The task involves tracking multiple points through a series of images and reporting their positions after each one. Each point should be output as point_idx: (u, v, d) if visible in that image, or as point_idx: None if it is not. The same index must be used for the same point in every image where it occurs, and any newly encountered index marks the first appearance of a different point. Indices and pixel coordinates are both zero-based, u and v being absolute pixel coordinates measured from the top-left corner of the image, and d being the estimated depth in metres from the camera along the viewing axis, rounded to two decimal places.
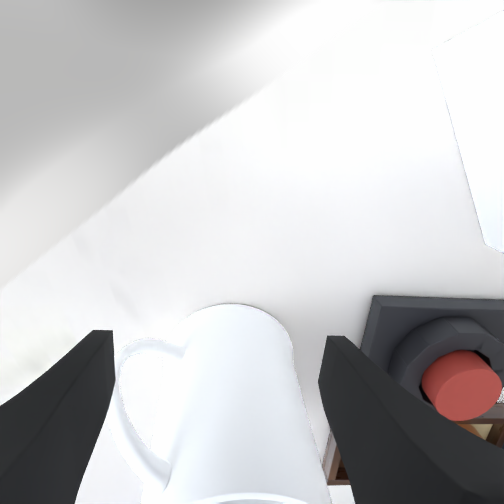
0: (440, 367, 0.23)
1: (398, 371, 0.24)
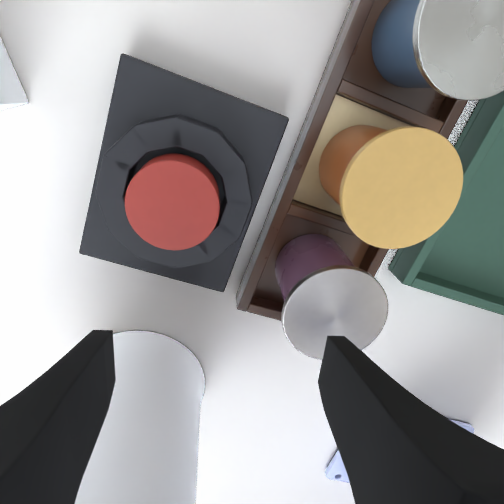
0: None
1: None
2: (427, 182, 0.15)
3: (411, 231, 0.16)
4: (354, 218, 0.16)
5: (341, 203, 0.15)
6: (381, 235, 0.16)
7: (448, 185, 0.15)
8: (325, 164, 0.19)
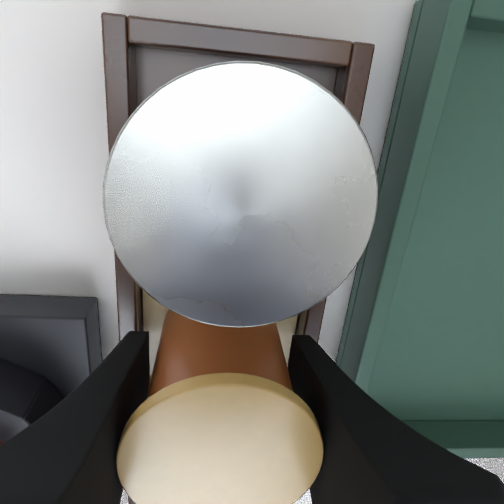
0: None
1: None
2: (256, 444, 0.09)
3: (265, 501, 0.10)
4: None
5: None
6: None
7: (294, 438, 0.09)
8: None
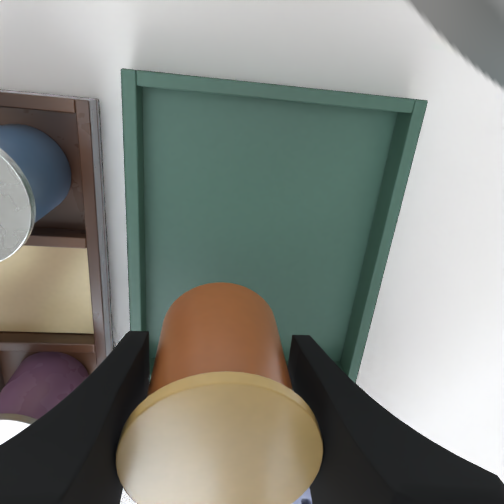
0: None
1: None
2: (255, 443, 0.09)
3: (264, 500, 0.10)
4: None
5: None
6: None
7: (294, 437, 0.09)
8: None
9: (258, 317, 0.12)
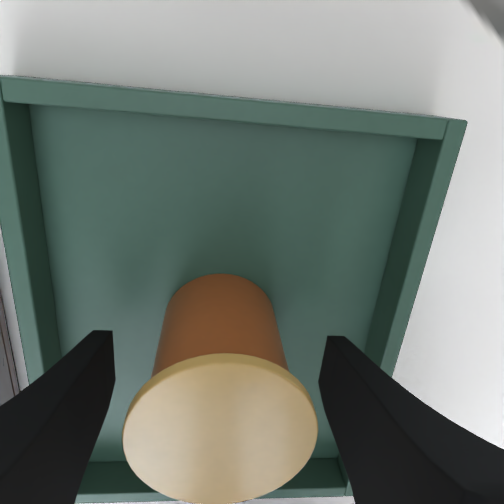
0: None
1: None
2: (254, 421, 0.10)
3: (262, 477, 0.10)
4: (165, 486, 0.10)
5: None
6: (219, 492, 0.11)
7: (290, 416, 0.10)
8: None
9: (257, 306, 0.13)
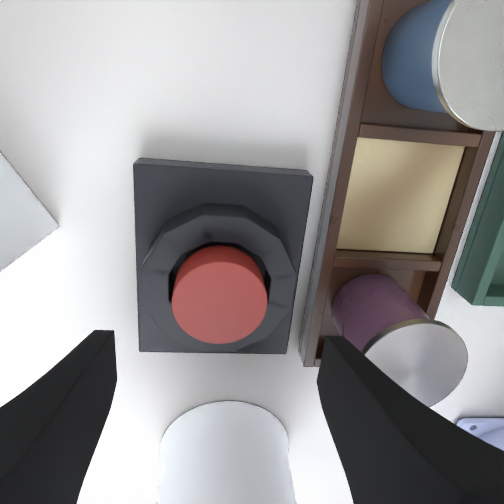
0: None
1: None
2: None
3: None
4: None
5: None
6: None
7: None
8: None
9: None
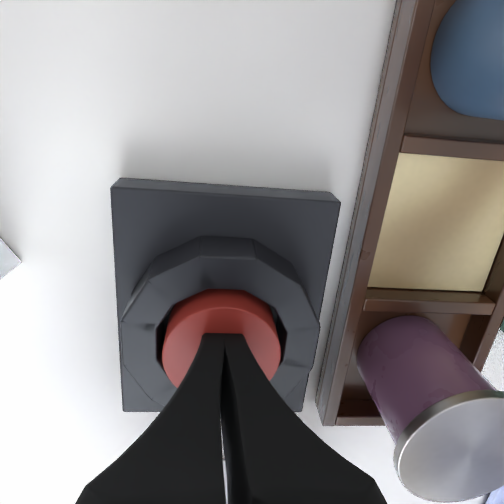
0: None
1: None
2: None
3: None
4: None
5: None
6: None
7: None
8: None
9: None
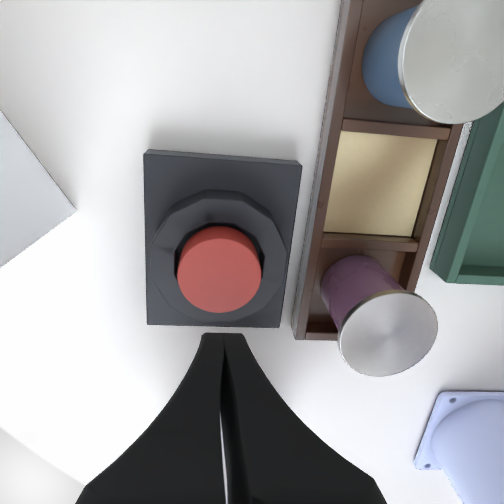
0: None
1: None
2: None
3: None
4: None
5: None
6: None
7: None
8: None
9: None
